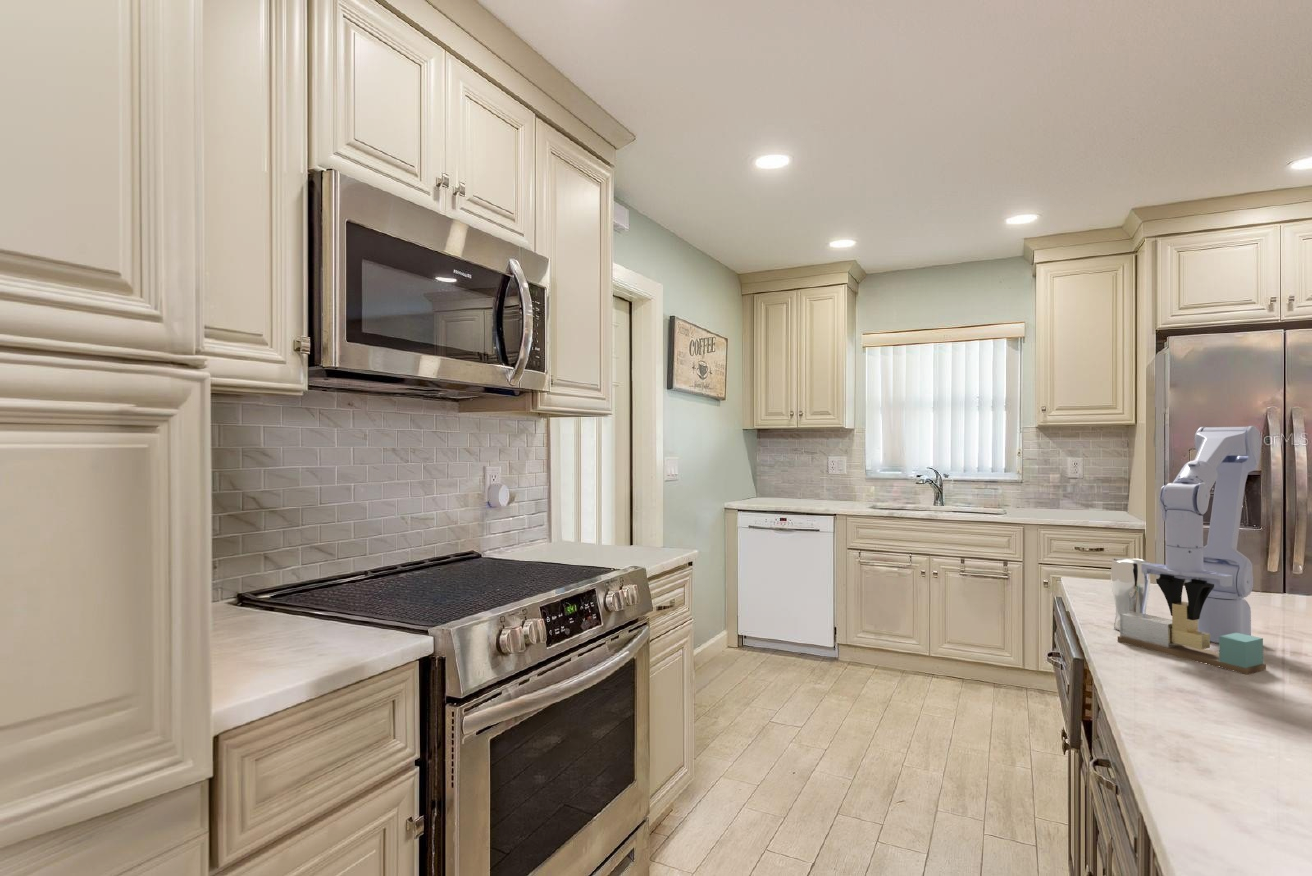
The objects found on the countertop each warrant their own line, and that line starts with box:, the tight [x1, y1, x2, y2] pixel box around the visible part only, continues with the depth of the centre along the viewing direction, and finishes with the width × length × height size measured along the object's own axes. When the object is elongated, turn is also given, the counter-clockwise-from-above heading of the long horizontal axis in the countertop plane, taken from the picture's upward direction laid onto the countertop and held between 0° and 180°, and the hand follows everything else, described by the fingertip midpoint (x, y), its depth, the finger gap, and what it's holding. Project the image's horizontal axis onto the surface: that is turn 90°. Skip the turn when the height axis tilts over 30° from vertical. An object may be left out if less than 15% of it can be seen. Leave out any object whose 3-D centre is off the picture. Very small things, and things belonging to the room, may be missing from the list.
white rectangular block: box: [1119, 612, 1181, 648], centre depth 137 cm, size 4×9×4 cm, turn 25°
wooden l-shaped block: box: [1170, 601, 1211, 650], centre depth 134 cm, size 4×13×8 cm, turn 25°
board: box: [1117, 635, 1267, 675], centre depth 131 cm, size 6×22×1 cm, turn 25°
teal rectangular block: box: [1218, 633, 1264, 668], centre depth 123 cm, size 6×4×4 cm
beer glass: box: [1110, 557, 1151, 631], centre depth 148 cm, size 7×7×15 cm
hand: (1184, 617), depth 131 cm, fingers closed on wooden l-shaped block, 2 cm apart
